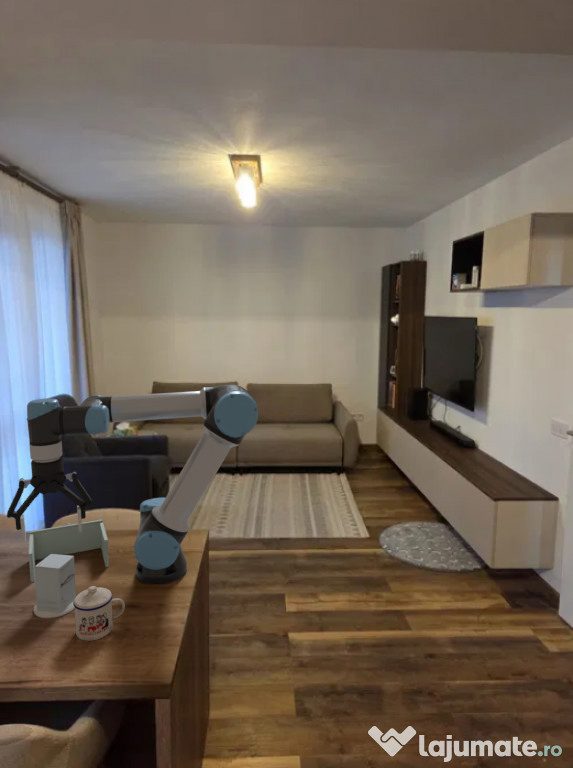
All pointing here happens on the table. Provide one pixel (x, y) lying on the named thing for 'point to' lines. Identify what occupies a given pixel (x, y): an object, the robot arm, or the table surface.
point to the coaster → (53, 614)
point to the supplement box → (55, 583)
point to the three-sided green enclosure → (67, 541)
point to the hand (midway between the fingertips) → (52, 535)
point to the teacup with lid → (95, 613)
